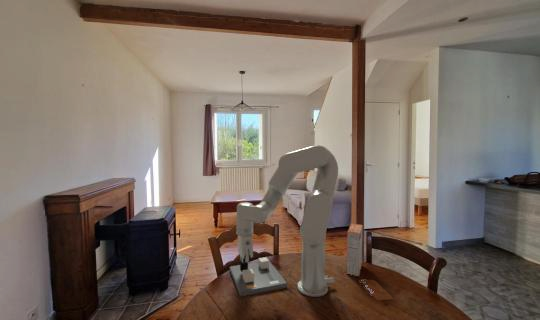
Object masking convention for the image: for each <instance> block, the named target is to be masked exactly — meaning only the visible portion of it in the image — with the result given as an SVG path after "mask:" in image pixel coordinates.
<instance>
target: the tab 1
mask: <svg viewBox="0 0 540 320" xmlns="http://www.w3.org/2000/svg"><path fill="white" fill-rule="evenodd" d="M243 280H244V282H245V283H248V282H254V272H253V270H252V269H248V270H243Z"/></svg>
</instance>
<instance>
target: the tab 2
mask: <svg viewBox="0 0 540 320" xmlns="http://www.w3.org/2000/svg"><path fill="white" fill-rule="evenodd" d="M269 261H270V260H269V259H268V258H267V256H265V257H259V258H258V260H257V262H258V266H259V267H260V269H266V268H269Z"/></svg>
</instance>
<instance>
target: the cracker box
mask: <svg viewBox="0 0 540 320" xmlns="http://www.w3.org/2000/svg"><path fill="white" fill-rule="evenodd" d="M363 227H364V226H363V225H362V224H358V223H350V226H349V228H348V230H347V233H346V234H347V237H346V238H347V239H346V241H347V242H346V243H347V244H346V245H347V247H346V248H347V249H346V275H347V274H351V275H350V276H352V275H355V276H354V277H356V276H359V277H360V274H361V271H360V270H362V264H363V233H364V232H363V230H364V229H363Z"/></svg>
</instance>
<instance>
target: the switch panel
mask: <svg viewBox="0 0 540 320" xmlns="http://www.w3.org/2000/svg"><path fill="white" fill-rule="evenodd" d="M248 269H252V270H253V272H254V282H248V283H245V282H244V280H243V272H241V270H240V264H237V265H231V266H229V272H230V274H231V277H232V279H233V282H234V284H235V286H236V289H237V291H238V293H239V294H238V295H239V297H246V296H250V295H255V294H256V295H257V294H260V293H265V292H271V291H276V290H281V289H286V288H288V283H287V281H286V280H285V278H283V276H282V275H281V274H280V272H279V271H278V270H277V268H276V267H275V266H274V265H273V264H272V262H271V261H270V260H269V268H266V269H260V267H259V266H258V261H257V262H252V263H248Z"/></svg>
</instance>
